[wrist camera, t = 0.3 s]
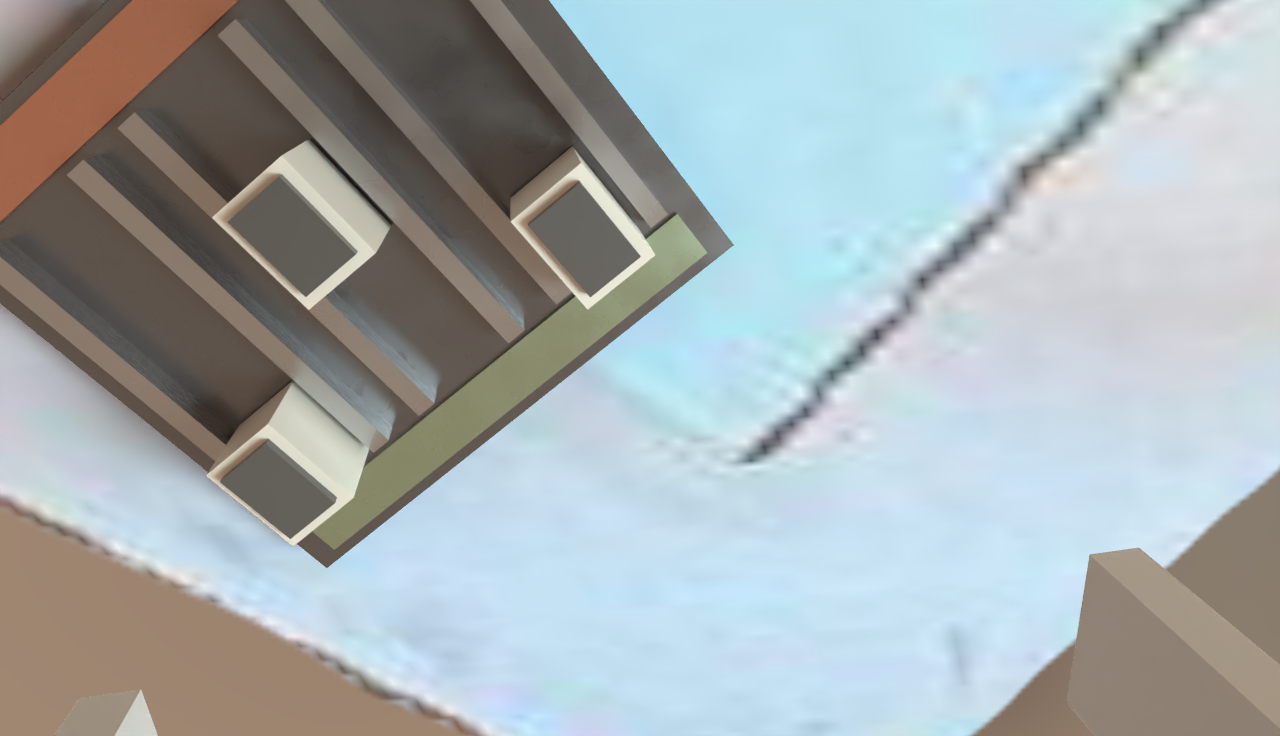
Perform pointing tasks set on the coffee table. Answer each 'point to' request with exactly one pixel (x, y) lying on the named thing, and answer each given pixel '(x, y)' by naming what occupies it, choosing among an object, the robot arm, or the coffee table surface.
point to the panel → (378, 168)
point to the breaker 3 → (579, 228)
